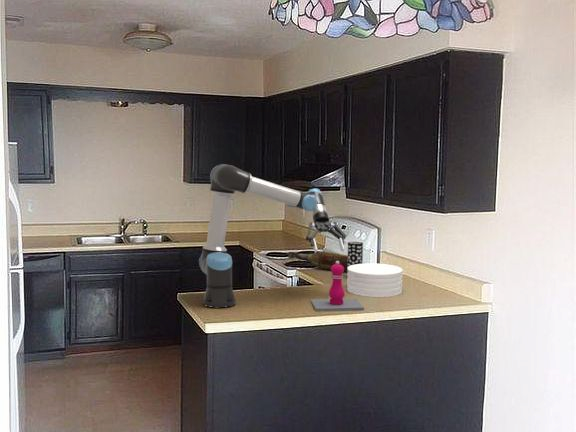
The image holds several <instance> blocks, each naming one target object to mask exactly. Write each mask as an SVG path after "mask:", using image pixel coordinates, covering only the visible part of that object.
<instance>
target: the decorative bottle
mask: <svg viewBox="0 0 576 432" xmlns="http://www.w3.org/2000/svg"><path fill="white" fill-rule="evenodd" d="M287 257H288V259H289V260H291V259H298V260H302V261H306V262H309V263H311V264H312V265H315V266H316V267H318V268H319V269H323V270H328V271H329V270H330V271H331V267H332V266H333V265H335V264H336V261H339V264H340V265H342V266H343V268H344V272H346V273H347V262H348V254H343V253H338V252H337V253H336V252H331V251H323V250H322V251H319V252H318V251H317V252H316V253H315V252H314V253H310V254H305V253H304V254H303V253H295V252H294V251H289V252H288V253H287Z"/></svg>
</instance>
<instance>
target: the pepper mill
mask: <svg viewBox="0 0 576 432" xmlns="http://www.w3.org/2000/svg"><path fill="white" fill-rule="evenodd" d="M344 272H345V271H344V268H343V266H342V265H340V264H339V261H336V264H335V265H333V266H332V267H331V270H330V273H331V278H332V284H331V286H330V288H329V292H328V295H329V299H330V304H332V305H342V304H343V299H344V298H345V295H346V294H345V290H344V287H343V284H342V283H343V282H342V280H343V273H344Z"/></svg>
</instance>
